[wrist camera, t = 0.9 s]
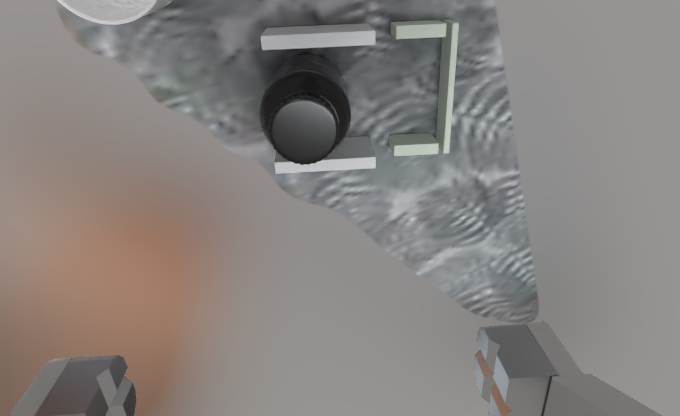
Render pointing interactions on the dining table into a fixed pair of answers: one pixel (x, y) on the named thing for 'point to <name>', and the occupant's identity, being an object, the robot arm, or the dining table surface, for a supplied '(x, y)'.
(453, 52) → the dock
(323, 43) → the channel
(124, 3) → the white cup
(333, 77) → the supplement bottle
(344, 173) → the dining table surface
